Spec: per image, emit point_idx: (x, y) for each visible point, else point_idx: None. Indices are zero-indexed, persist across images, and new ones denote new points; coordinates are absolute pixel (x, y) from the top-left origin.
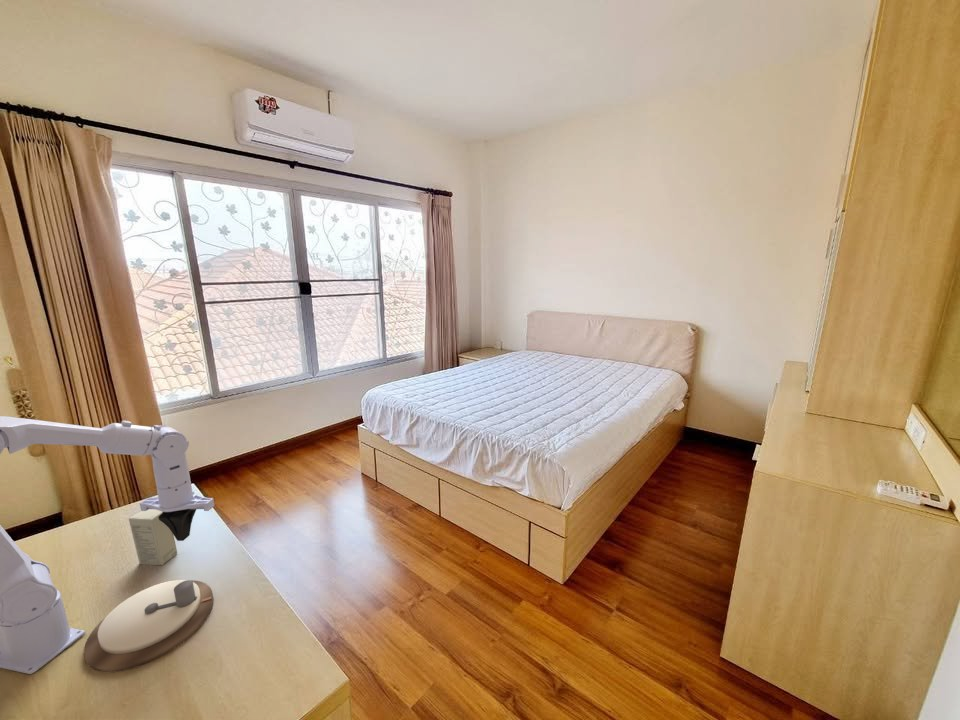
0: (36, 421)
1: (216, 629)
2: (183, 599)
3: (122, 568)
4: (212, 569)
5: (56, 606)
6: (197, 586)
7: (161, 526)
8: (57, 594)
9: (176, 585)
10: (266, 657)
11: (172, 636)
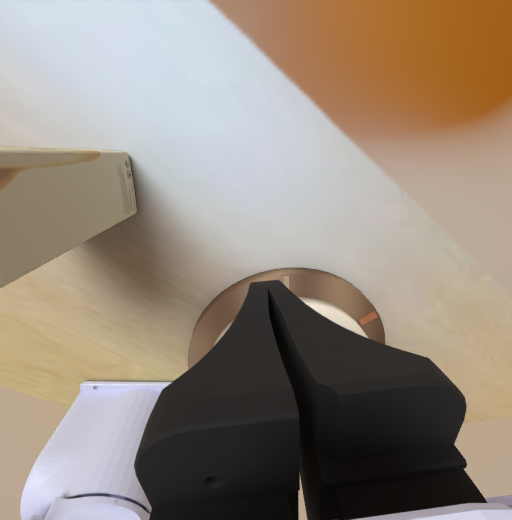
0: None
1: (407, 348)
2: None
3: None
4: (303, 213)
5: (148, 502)
6: (348, 320)
7: (37, 223)
8: (116, 508)
9: None
10: (503, 373)
11: None
